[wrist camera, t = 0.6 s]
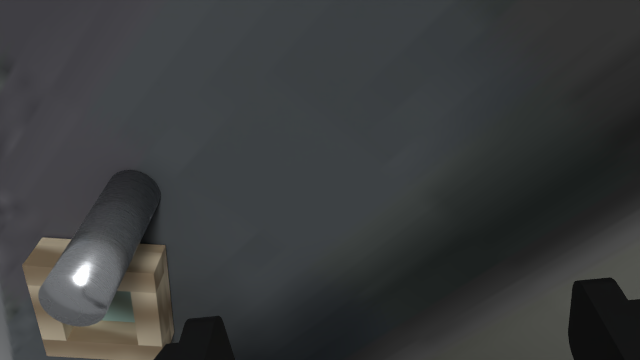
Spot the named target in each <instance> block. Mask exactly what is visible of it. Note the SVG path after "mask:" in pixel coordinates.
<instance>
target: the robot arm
mask: <svg viewBox="0 0 640 360" xmlns="http://www.w3.org/2000/svg"><path fill="white" fill-rule="evenodd" d="M568 337H569V344H570V348H571V352H572V355H573V358H574V360H640V299H637V300H628V299H627V298H626V296H625V295H624V293H623V292H622V290H621V289H620V287H619V286H618V284H617V283H616V281H615V280H614V279H612V278H601V279H590V280H580V281H575V282H574V284H573V288H572V298H571V308H570V318H569V328H568ZM154 360H235V358H234V355H233V352H232V349H231V345H230V342H229V339H228V336H227V333H226V329H225V326H224V323H223V320H222V318H221V317H220V316H214V317H203V318H193V319H188V320H187V321H186V322H185V325H184V328H183V331H182V334H181V338H180V341H179V343H169V344H166V345H165V346H164V347H163V348H162V350H161V351H160V352H159V353H158V355H157V356H156V357H155V358H154Z"/></svg>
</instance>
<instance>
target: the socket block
mask: <svg viewBox="0 0 640 360" xmlns="http://www.w3.org/2000/svg"><path fill="white" fill-rule="evenodd" d="M70 241H71V239H58V238H42V239H41V240H40V242H39V243H38V244H37V246H36V247H35V248H34V250H33V251H32V253H31V254H30V255H29V257H28V258H27V260H26V261H25V262H24V264H23V265H22V267H23V270H24V274H25V278H26V281H27V285H28V288H29V292H30V296H31V299H32V303H33V307H34V310H35V314H36V318H37V321H38V325H39V329H40V332H41V336H42V339H43V343H44V347H45V350H46V354H47V356H59V357H75V358H92V359H109V360H154V358H155V357H156V356H157V355H158V353H159V352H160V351H161V350H162V348H163V347H164V346H165V345H166V344H169V343H171V340H172V337H173V334H174V326H173V316H172V306H171V296H170V287H169V277H168V267H167V257H166V247H165V245H153V244H139V245H138V248H137V250H136V252H135V254H134V256H133V258H132V260H131V262H130V264H129V266H128V269H127V271H126V273H125V275H124V277H123V279H122V281H121V283H120V285H119V288H118V290H117V292H116V294H115V296H114V298H113V300H112V302H111V304H110V306H109V309H108V311H107V313H106V315H105V317H104V318H103V319H102V320H101V321H100V322H98V323H96V324H94V325H90V326H83V327H79V326H71V325H67V324H64V323H62V322H59V321H57V320H56V319H54V318H52V317H51V316H50V315H49V314H47V313H46V311H45V310H44V309H43V308H42V306H41V304H40V302H39V298H38V293H39V289H40V287H41V286H42V284H43V283H44V281H45V279H46V278H47V276H48V275H49V273H50V272H51V270H52V269H53V267H54V266H55V264H56V262H57V261H58V259H59V258H60V256H61V255H62V253H63V252H64V250H65V249H66V247H67V245H68V244H69V242H70Z"/></svg>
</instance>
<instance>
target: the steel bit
mask: <svg viewBox="0 0 640 360" xmlns="http://www.w3.org/2000/svg"><path fill="white" fill-rule="evenodd" d="M159 201H160V190H159V188H158V186H157V184H156V183H155V181H154V180H153V179H152V178H150V177H149V176H148V175H146V174H144V173H142V172H139V171H135V170H124V171H120V172H118V173H116V174H115V175H113V176H112V178H111V179H110V181H109V182H108V184H107V185H106V187H105V188H104V190H103V191H102V193H101V194H100V196H99V198H98V199H97V201H96V202H95V204H94V205H93V207H92V208H91V210H90V211H89V213H88V215H87V216H86V218H85V219H84V221H83V222H82V224H81V225H80V227H79V228H78V230H77V232H76V233H75V235H74V236H73V238H72V239H71V241H70V242H69V244H68V245H67V247H66V249H65V250H64V252H63V253H62V255H61V256H60V258H59V259H58V261H57V262H56V264H55V266H54V267H53V269H52V270H51V272H50V273H49V275H48V276H47V278H46V279H45V281H44V283H43V284H42V286H41V287H40V289H39V293H38V298H39V302H40V304H41V306H42V308H43V309H44V310H45V311H46V313H47V314H49V315H50V316H51V317H52V318H54V319H56V320H57V321H59V322H62V323H64V324H67V325H71V326H79V327H83V326H90V325H94V324H96V323H98V322H100V321H101V320H102V319H103V318H104V317H105V315H106V313H107V311H108V309H109V306H110V304H111V302H112V300H113V298H114V296H115V294H116V292H117V290H118V288H119V285H120V283H121V281H122V279H123V277H124V275H125V273H126V271H127V269H128V266H129V264H130V262H131V260H132V258H133V256H134V254H135V252H136V250H137V248H138V245H139V243H140V241H141V239H142V237H143V235H144V233H145V231H146V229H147V226H148V224H149V222H150V220H151V218H152V216H153V214H154V212H155V210H156V208H157V205H158V203H159Z"/></svg>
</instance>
